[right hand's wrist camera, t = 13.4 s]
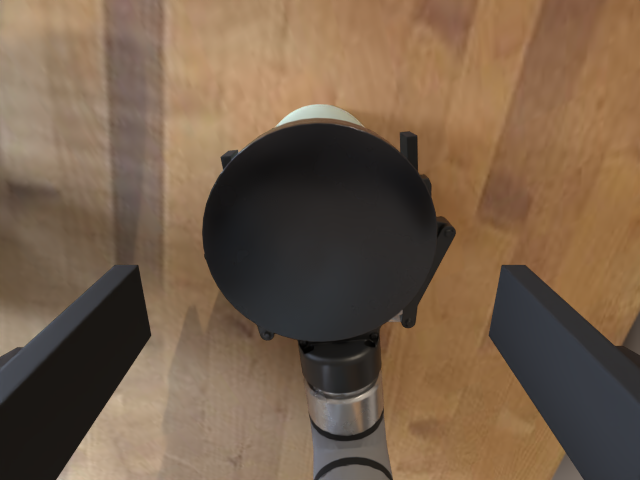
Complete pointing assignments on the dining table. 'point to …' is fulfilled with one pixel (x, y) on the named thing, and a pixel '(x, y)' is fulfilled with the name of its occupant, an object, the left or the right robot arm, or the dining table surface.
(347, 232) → the lid
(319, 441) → the left robot arm
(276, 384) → the dining table surface
